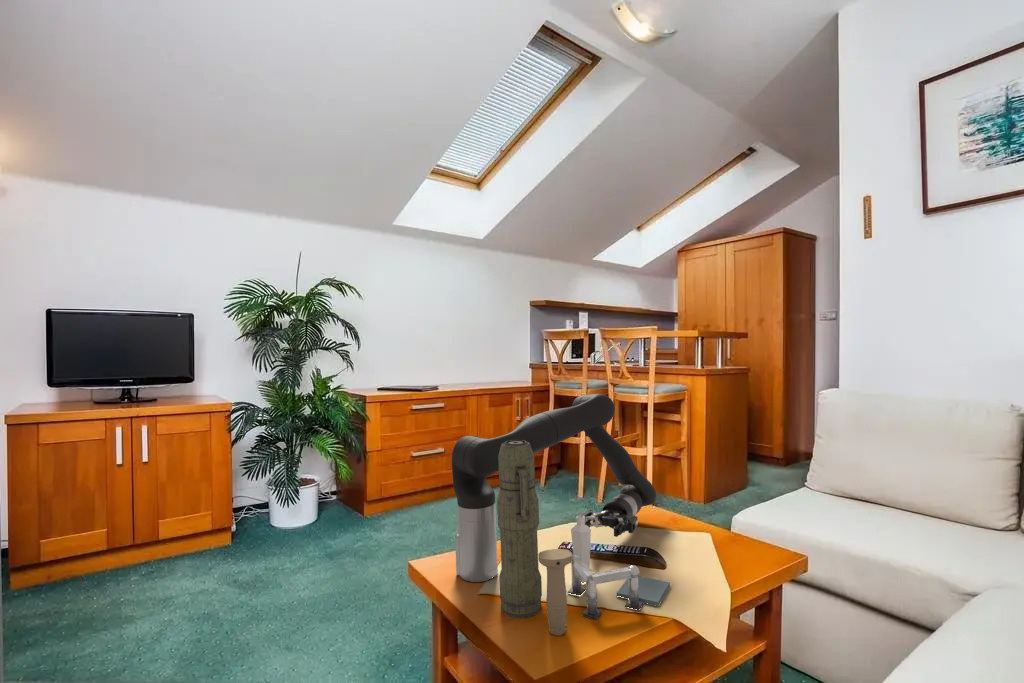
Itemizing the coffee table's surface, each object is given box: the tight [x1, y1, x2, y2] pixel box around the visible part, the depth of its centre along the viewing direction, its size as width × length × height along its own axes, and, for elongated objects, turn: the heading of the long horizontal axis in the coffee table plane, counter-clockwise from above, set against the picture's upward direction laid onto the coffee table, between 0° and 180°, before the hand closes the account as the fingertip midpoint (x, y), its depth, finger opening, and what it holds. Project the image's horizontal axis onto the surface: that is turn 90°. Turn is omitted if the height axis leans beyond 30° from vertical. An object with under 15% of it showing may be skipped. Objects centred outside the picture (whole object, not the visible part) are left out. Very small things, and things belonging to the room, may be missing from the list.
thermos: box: [496, 440, 543, 619], centre depth 110 cm, size 9×12×35 cm
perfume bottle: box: [570, 514, 592, 583], centre depth 121 cm, size 5×4×15 cm
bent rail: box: [567, 553, 644, 621], centre depth 109 cm, size 16×10×8 cm, turn 59°
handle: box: [538, 548, 573, 637], centre depth 100 cm, size 5×6×15 cm
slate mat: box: [616, 575, 671, 607], centre depth 115 cm, size 9×10×1 cm
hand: (598, 530), depth 130 cm, fingers open, 8 cm apart
